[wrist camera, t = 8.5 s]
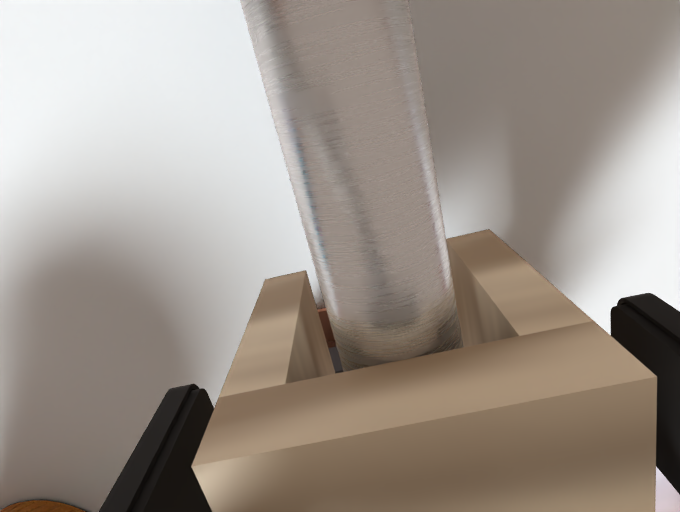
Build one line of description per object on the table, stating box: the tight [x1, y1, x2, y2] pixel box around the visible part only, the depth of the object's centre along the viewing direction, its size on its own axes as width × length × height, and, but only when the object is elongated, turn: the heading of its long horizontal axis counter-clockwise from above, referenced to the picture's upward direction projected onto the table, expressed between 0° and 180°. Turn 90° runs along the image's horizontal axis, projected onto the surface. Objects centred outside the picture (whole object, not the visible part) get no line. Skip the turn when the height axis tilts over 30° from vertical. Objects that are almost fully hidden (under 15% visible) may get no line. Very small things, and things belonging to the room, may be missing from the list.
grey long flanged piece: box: [240, 0, 463, 372], centre depth 11 cm, size 20×10×8 cm, turn 13°
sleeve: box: [191, 229, 657, 512], centre depth 10 cm, size 4×6×7 cm, turn 104°
